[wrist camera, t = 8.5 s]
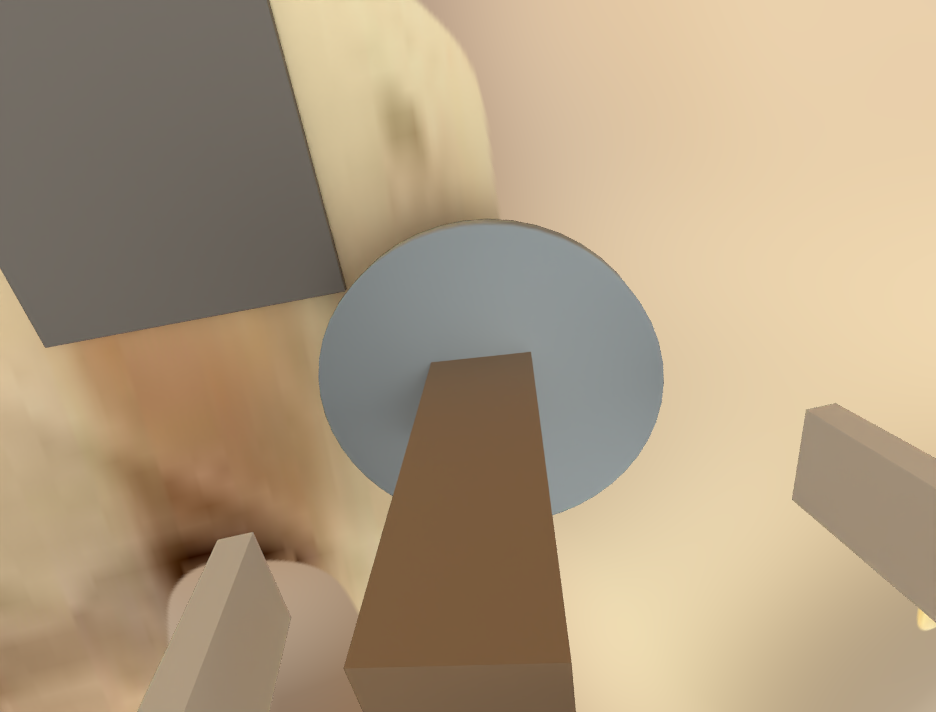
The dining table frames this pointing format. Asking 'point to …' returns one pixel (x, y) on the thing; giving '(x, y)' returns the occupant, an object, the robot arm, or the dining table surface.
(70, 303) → the mat
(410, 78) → the dining table surface
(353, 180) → the dining table surface
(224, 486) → the dining table surface
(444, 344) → the lid
